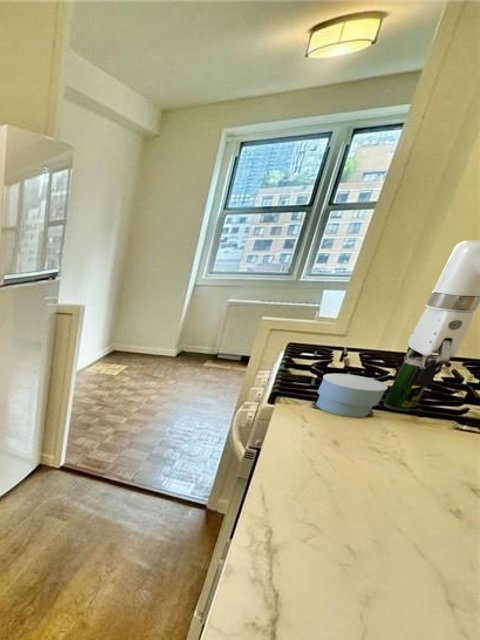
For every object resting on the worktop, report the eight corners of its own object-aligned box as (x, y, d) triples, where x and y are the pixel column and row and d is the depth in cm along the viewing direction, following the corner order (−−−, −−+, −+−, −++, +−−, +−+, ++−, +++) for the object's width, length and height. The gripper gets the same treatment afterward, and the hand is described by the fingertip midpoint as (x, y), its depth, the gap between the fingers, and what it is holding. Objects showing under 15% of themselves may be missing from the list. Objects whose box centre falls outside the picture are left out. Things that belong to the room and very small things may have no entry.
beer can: (376, 404, 118) (399, 356, 113) (394, 402, 119) (418, 355, 113) (400, 412, 114) (426, 363, 108) (419, 411, 114) (446, 362, 109)
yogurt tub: (362, 404, 119) (375, 377, 115) (382, 422, 110) (397, 393, 106) (305, 397, 123) (316, 371, 119) (319, 414, 114) (332, 386, 110)
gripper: (501, 311, 96) (452, 396, 105) (454, 296, 110) (414, 372, 119) (451, 308, 99) (407, 391, 108) (411, 294, 113) (375, 368, 121)
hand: (411, 380), depth 113 cm, fingers closed on beer can, 5 cm apart
